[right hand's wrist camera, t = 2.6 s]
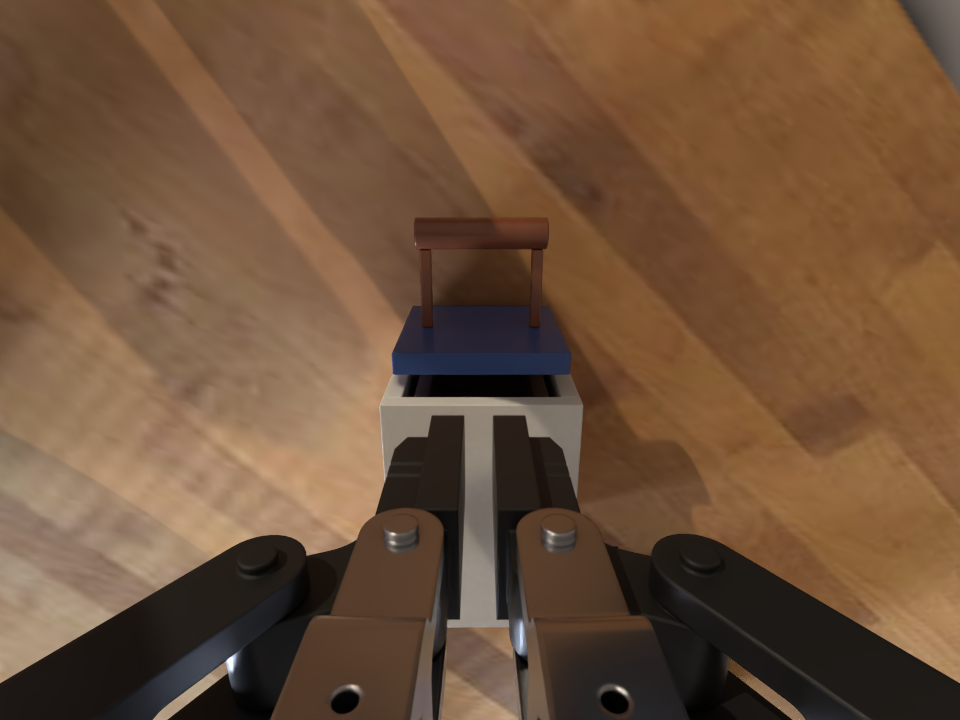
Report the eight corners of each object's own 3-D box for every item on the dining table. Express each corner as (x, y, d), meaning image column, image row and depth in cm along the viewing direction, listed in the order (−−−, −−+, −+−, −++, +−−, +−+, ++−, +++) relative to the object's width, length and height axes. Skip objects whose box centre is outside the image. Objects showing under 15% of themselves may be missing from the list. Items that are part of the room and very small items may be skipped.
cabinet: (406, 335, 39) (378, 404, 28) (555, 335, 39) (583, 404, 28) (415, 512, 44) (394, 627, 33) (546, 512, 44) (568, 627, 33)
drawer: (408, 209, 35) (384, 228, 26) (553, 209, 35) (578, 228, 26) (420, 478, 41) (403, 565, 33) (541, 478, 41) (558, 564, 33)
